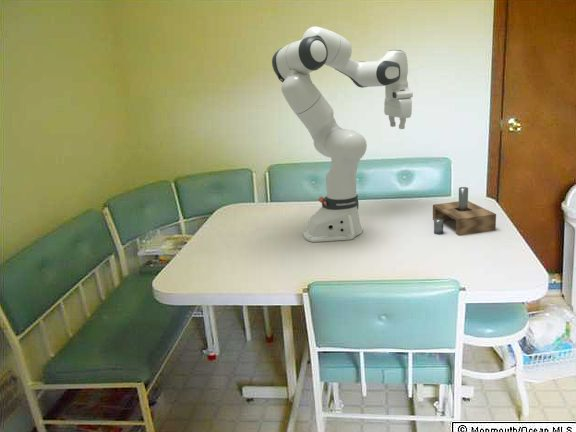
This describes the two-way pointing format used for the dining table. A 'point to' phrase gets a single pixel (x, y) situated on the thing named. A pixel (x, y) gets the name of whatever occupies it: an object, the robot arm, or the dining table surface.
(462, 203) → the long pin
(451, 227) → the dining table surface
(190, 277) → the dining table surface
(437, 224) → the short pin
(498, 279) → the dining table surface
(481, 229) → the bridge
